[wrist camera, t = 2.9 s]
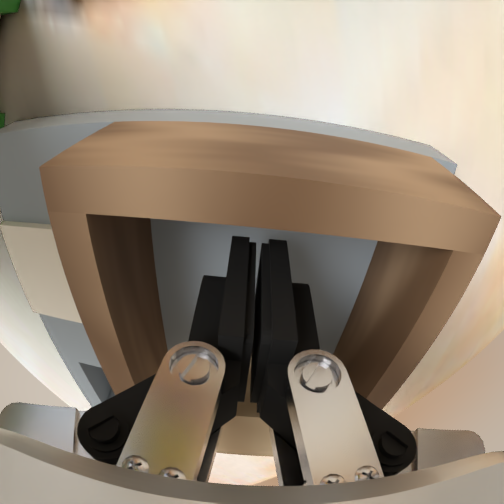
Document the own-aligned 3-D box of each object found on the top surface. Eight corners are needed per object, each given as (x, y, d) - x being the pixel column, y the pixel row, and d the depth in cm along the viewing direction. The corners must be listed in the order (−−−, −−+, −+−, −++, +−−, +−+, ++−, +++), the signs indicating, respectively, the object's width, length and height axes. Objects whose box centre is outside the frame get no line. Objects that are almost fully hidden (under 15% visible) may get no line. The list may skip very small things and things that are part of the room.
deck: (430, 145, 12) (462, 168, 10) (316, 416, 26) (318, 443, 23) (15, 121, 11) (-21, 139, 9) (102, 390, 25) (93, 414, 23)
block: (305, 326, 15) (313, 418, 11) (287, 380, 18) (289, 456, 14) (201, 317, 15) (183, 409, 11) (203, 373, 18) (192, 449, 14)
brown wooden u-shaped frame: (431, 157, 10) (500, 216, 6) (333, 389, 18) (341, 452, 15) (114, 121, 10) (38, 166, 6) (154, 374, 18) (138, 436, 14)
